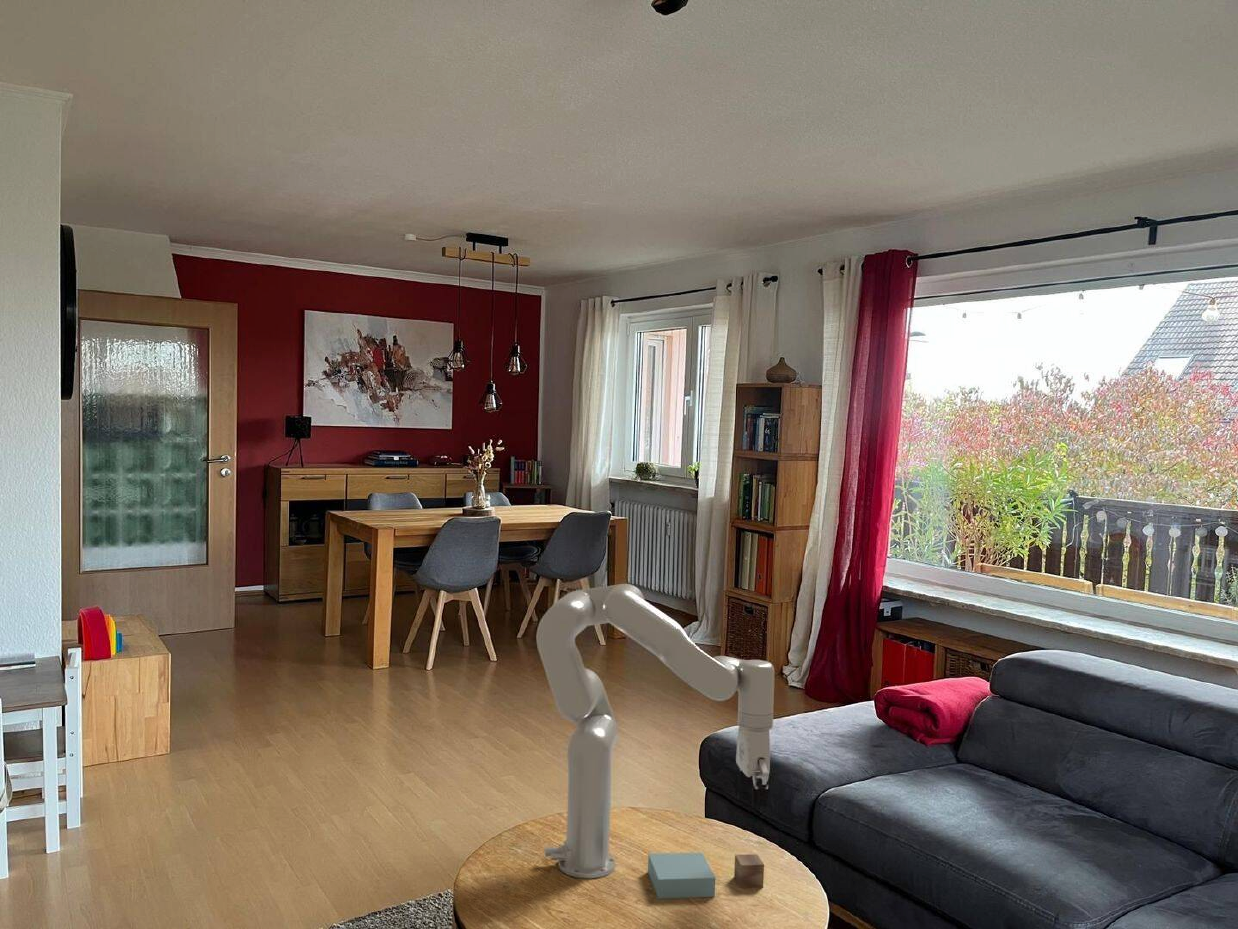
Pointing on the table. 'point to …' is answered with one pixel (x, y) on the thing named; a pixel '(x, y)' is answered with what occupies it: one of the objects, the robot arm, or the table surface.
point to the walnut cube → (749, 871)
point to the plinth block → (681, 875)
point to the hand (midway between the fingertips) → (752, 798)
